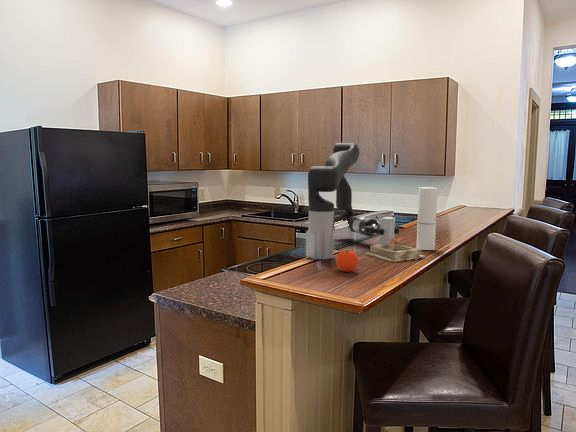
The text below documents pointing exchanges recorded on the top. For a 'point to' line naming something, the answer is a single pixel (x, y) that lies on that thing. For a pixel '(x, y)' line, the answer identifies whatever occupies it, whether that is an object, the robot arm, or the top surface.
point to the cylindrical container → (426, 218)
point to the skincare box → (387, 230)
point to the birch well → (394, 252)
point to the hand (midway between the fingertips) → (390, 231)
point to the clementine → (346, 260)
